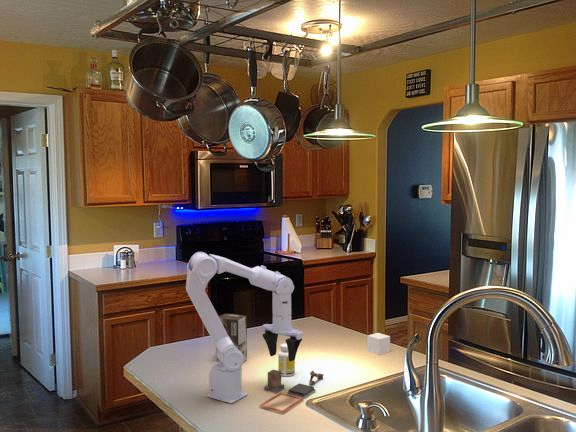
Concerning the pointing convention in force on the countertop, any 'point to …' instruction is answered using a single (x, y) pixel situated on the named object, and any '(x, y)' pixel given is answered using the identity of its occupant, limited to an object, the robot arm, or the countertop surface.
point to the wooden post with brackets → (319, 376)
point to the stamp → (274, 382)
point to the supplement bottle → (285, 362)
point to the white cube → (378, 343)
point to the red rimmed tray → (281, 403)
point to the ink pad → (301, 391)
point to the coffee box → (236, 331)
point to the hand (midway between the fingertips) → (282, 357)
